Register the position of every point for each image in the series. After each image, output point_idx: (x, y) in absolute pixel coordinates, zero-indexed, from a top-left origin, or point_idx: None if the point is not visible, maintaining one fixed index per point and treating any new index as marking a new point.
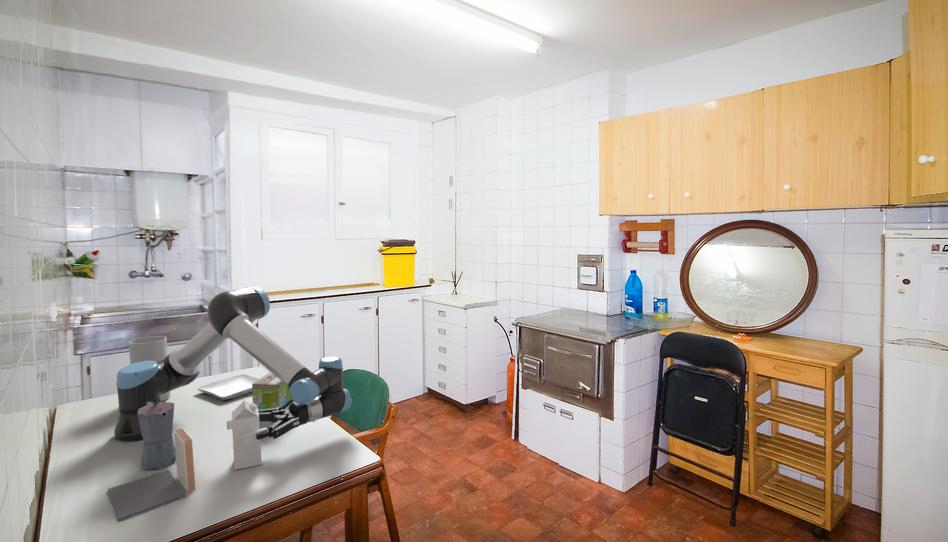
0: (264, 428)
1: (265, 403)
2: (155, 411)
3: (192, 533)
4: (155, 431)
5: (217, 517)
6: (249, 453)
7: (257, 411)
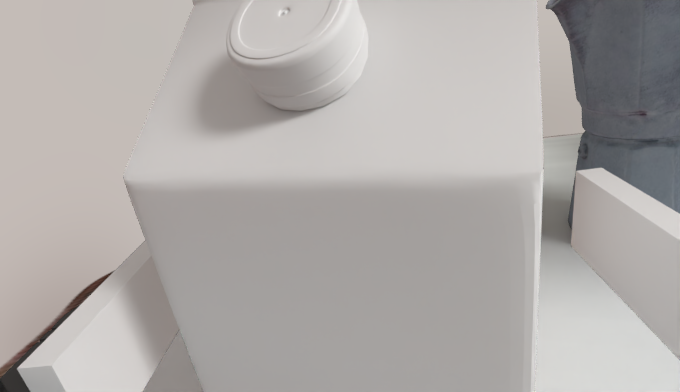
0: (58, 345)
1: None
2: None
3: (109, 273)
4: (577, 76)
5: None
6: None
7: (290, 160)
